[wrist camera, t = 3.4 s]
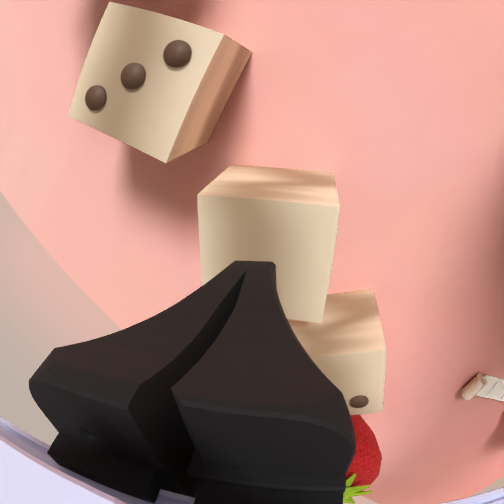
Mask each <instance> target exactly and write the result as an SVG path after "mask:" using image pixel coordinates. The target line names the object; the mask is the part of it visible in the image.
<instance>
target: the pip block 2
mask: <svg viewBox="0 0 504 504" xmlns="http://www.w3.org/2000/svg"><path fill="white" fill-rule="evenodd" d="M287 320H288V322H289V324H290V326H291V328H292V330H293V332H294V333H295V335H296V337H297V339H298V340H299V342H300V343H301V345H302V346H303V348H304V349H305V351H306V352H307V353H308V355H309V356H310V358H311V359H312V360H313V362H314V363H315V364H316V365H317V366H318V368H319V369H320V370H321V371H322V372H323V374H324V375H325V376H326V377H327V378H328V379H329V380H330V381H331V382H332V383H333V384H334V385H335V386H336V387H337V388H338V389H339V390H340V391H341V392H342V393H343V396H344V399H345V401H346V404H347V407H348V409H349V412H350V415H358V414H367V413H376V412H382V409H383V397H384V382H385V364H386V346H385V341H384V336H383V331H382V326H381V321H380V316H379V311H378V307H377V302H376V298H375V293H374V289H368V290H361V291H353V292H345V293H337V294H329V295H327V297H326V302H325V308H324V313H323V318H322V323H318V322H308V321H299V320H290V319H287Z"/></svg>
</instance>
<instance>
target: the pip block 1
mask: <svg viewBox="0 0 504 504" xmlns="http://www.w3.org/2000/svg"><path fill="white" fill-rule="evenodd" d="M251 54H252V52H251V51H249V50H248V49H246V48H245V47H243V46H242V45H240V44H239V43H237V42H236V41H234V40H232V39H231V38H229V37H228V36H226V35H224V34H222V33H219V32H216V31H214V30H211V29H208V28H205V27H202V26H199V25H196V24H193V23H190V22H187V21H184V20H181V19H177V18H174V17H171V16H167V15H164V14H160V13H156V12H153V11H149V10H145V9H141V8H137V7H132V6H128V5H123V4H119V3H114V2H109V4H108V6H107V8H106V10H105V12H104V15H103V17H102V19H101V21H100V24H99V26H98V29H97V31H96V33H95V36H94V38H93V41H92V44H91V46H90V49H89V51H88V54H87V57H86V60H85V62H84V65H83V68H82V71H81V74H80V77H79V80H78V83H77V87H76V90H75V93H74V97H73V100H72V103H71V107H70V111H69V114H68V117H70V118H73V119H75V120H77V121H79V122H81V123H83V124H85V125H88V126H90V127H92V128H94V129H96V130H98V131H100V132H102V133H105V134H107V135H109V136H111V137H113V138H115V139H117V140H119V141H121V142H123V143H125V144H128V145H130V146H132V147H134V148H136V149H138V150H140V151H142V152H144V153H146V154H148V155H150V156H152V157H154V158H156V159H158V160H160V161H162V162H164V163H168V162H170V161H172V160H173V159H175V158H177V157H179V156H181V155H183V154H185V153H187V152H189V151H191V150H193V149H195V148H197V147H199V146H201V145H203V144H206V143H208V141H209V139H210V137H211V135H212V133H213V130H214V128H215V126H216V124H217V122H218V120H219V118H220V116H221V114H222V111H223V109H224V107H225V105H226V103H227V101H228V99H229V97H230V95H231V93H232V91H233V89H234V87H235V85H236V83H237V81H238V79H239V77H240V75H241V73H242V71H243V69H244V67H245V66H246V64H247V62H248V60H249V58H250V56H251Z"/></svg>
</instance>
